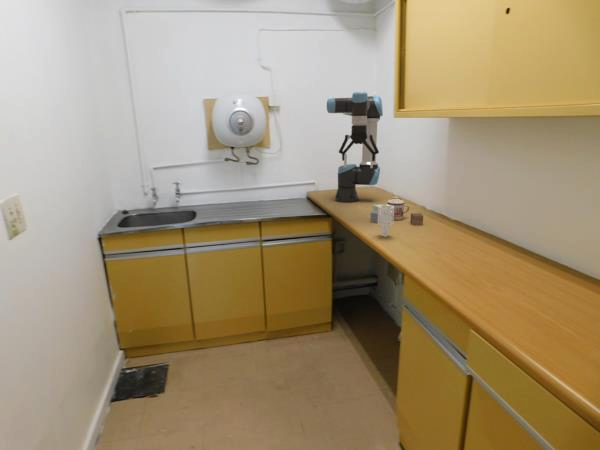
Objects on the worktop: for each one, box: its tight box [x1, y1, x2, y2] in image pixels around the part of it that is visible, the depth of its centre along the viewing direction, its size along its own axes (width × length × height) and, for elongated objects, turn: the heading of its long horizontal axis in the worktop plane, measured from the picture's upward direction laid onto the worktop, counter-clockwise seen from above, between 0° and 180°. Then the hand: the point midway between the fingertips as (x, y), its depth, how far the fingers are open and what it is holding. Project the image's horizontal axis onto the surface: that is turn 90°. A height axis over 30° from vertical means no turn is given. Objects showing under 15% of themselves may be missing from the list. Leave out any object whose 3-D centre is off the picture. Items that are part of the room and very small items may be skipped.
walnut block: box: [409, 212, 424, 226], centre depth 189 cm, size 5×5×5 cm
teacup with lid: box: [386, 196, 410, 221], centre depth 200 cm, size 12×9×12 cm
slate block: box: [369, 210, 378, 224], centre depth 195 cm, size 5×5×5 cm
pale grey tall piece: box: [377, 204, 395, 238], centre depth 169 cm, size 7×7×15 cm
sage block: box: [372, 204, 386, 212], centre depth 209 cm, size 5×5×5 cm
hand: (358, 167), depth 193 cm, fingers open, 13 cm apart
